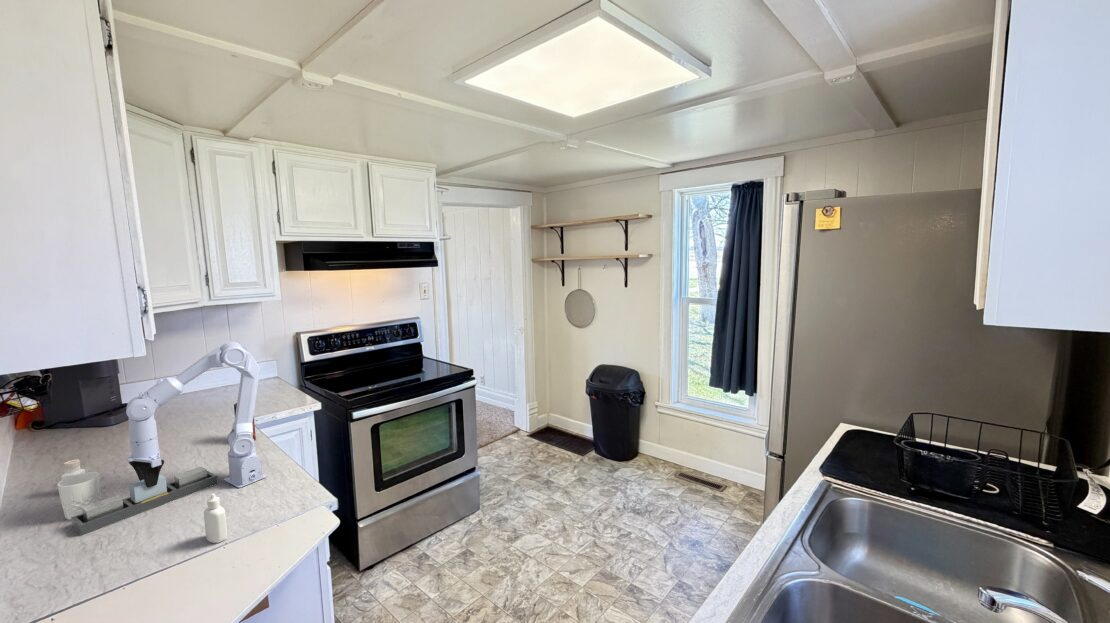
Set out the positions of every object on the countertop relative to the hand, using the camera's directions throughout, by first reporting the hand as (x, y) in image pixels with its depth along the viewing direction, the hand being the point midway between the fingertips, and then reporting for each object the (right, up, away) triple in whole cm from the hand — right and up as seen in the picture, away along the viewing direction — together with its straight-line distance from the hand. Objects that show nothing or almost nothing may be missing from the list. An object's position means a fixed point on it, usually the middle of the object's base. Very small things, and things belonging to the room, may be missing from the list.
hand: (148, 484), depth 128 cm
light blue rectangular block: (0, -3, 0) cm, 3 cm away
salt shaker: (-28, -5, +6) cm, 29 cm away
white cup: (-14, -7, -4) cm, 16 cm away
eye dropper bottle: (+30, -8, -14) cm, 35 cm away
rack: (0, -6, +1) cm, 6 cm away
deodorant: (-2, -1, +43) cm, 43 cm away
